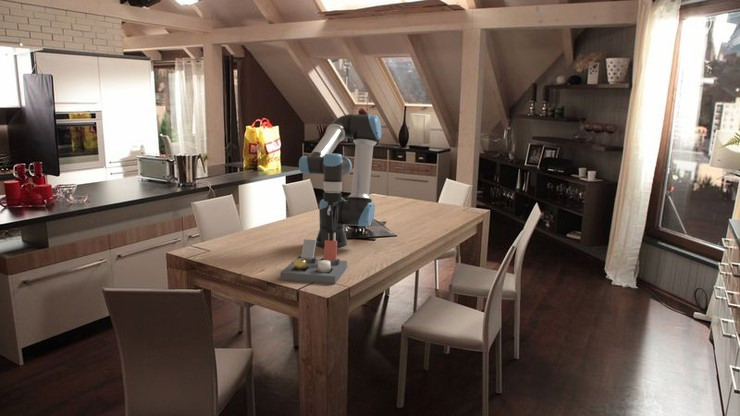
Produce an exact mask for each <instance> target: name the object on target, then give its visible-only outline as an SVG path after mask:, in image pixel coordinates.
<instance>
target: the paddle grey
mask: <svg viewBox="0 0 740 416" xmlns="http://www.w3.org/2000/svg"><path fill="white" fill-rule="evenodd" d="M316 247H317V245H316V239H304V240H303V245H302V251H301V254H300V256H301V258H302V259H306V262H313V258H314V257H315V250H316Z"/></svg>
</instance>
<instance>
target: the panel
mask: <svg viewBox="0 0 740 416" xmlns="http://www.w3.org/2000/svg"><path fill="white" fill-rule="evenodd" d="M299 258H301V255H298V257H295V259H299ZM321 260H324V257H321V258H317V257H316V256H314V258H313V262H306V270H302V271H297V270H294V260H292V261H291V262H290V263H288V265H287V266H286V267H285V268H284V269H282V270H281V271H280V281H294V282H306V283H307V282H308V283H315V284H316V283H319V284H333V285H335V284H337V282H339V279H340V278H341V277H342V276H343V274H344V273H345V271H346V270H347V268H348V260H340V258H336V264H333V263H331V271H330V272H325V273H323V272H319V271H318V261H321Z"/></svg>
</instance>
